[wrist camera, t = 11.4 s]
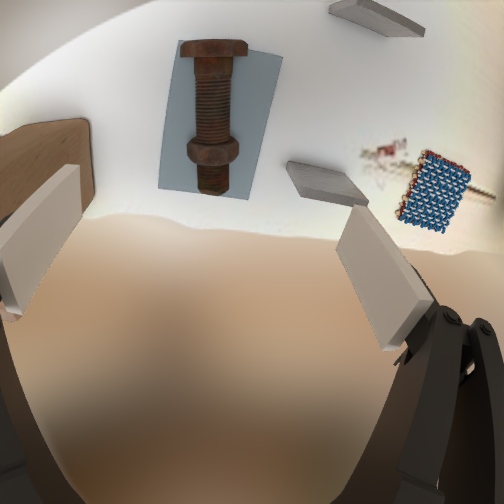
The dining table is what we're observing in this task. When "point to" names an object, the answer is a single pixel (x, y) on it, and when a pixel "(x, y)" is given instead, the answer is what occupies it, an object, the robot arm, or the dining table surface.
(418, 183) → the woven mat
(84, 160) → the wooden block
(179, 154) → the slate pad
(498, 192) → the dining table surface
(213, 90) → the bolt
